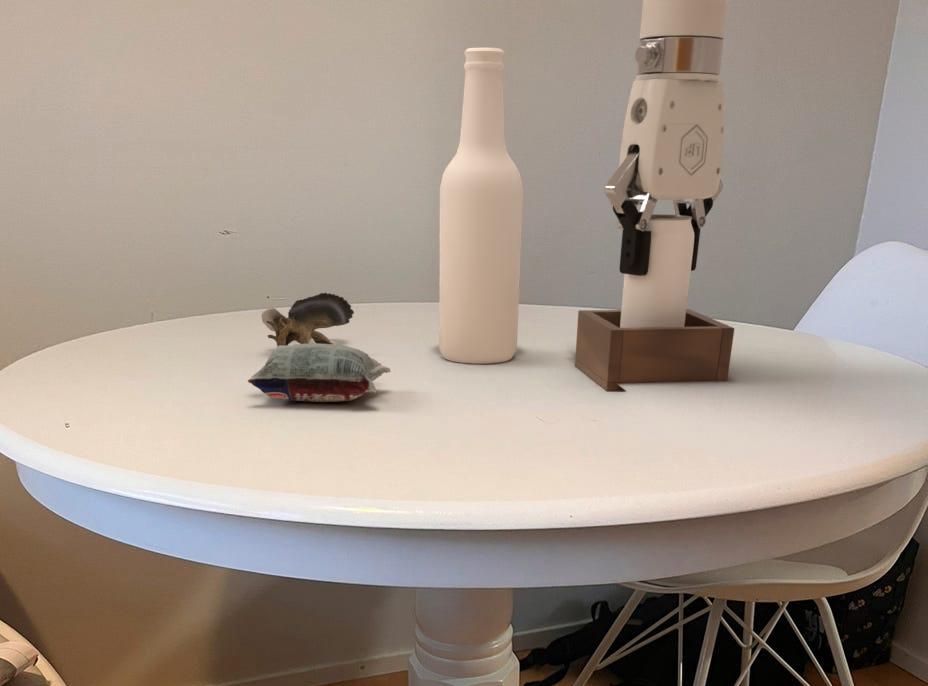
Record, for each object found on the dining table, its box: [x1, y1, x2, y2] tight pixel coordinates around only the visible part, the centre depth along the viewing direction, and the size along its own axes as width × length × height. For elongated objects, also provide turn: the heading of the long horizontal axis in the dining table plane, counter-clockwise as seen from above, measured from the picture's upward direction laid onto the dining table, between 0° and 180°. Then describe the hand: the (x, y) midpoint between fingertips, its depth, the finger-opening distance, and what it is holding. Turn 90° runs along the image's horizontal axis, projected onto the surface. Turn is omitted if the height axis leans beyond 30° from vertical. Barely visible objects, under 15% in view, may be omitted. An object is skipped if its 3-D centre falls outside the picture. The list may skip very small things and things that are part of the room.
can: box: [620, 213, 694, 328], centre depth 98 cm, size 6×6×12 cm
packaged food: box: [247, 343, 391, 403], centre depth 91 cm, size 9×12×5 cm
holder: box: [574, 308, 735, 392], centre depth 101 cm, size 12×12×6 cm
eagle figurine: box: [260, 292, 355, 348], centre depth 111 cm, size 8×7×9 cm
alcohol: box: [438, 47, 524, 365], centre depth 104 cm, size 9×9×30 cm
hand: (657, 270), depth 97 cm, fingers closed on can, 6 cm apart
